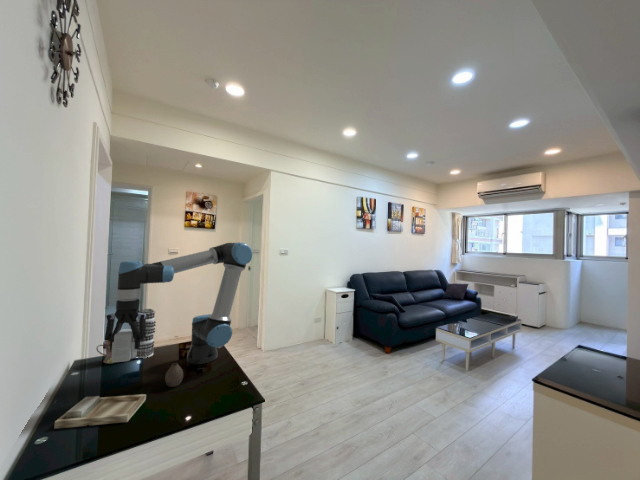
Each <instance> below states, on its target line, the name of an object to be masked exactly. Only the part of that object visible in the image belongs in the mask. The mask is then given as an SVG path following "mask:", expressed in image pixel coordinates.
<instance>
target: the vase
mask: <svg viewBox="0 0 640 480" xmlns="http://www.w3.org/2000/svg"><path fill="white" fill-rule="evenodd" d="M183 379H184V371H183V368H182V367H181V366H180V365H179V364H178V363H177V362H176V363H175V362H174V363H172V364H171V366H170V367H169V368H168V370H167V371H166V373H165V376H164V382H165V384H166V386H168V388H174V387H178V386H180V384H181V383H182V382H183Z"/></svg>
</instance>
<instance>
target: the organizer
mask: <svg viewBox="0 0 640 480" xmlns="http://www.w3.org/2000/svg"><path fill="white" fill-rule="evenodd" d="M146 399H147V394H143V393H141V394H132V395H131V394H128V395H118V396H117V395H116V396H104V397H100V395H95V396H85V397H84V398H83V399H82V400H80V401H79V402H78V403H76V404H75V405H74V406H73V407H71V408H70V409H69V410H68V411H66V412H65V413H64V414H63V415H61V416H60V417H59V418H57V420H55V421H54V429H64V428H65V429H66V428H76V427H77V428H78V427H87V425H89V426H98V425H99V426H100V425H108V424H109V425H111V424H120V423H121V424H122V423H128V422H129V420H131V418H132V417H133V416H134V415H135V414H136V412H137V411H138V410H139V409H140V407H141V406H142V405H143V404H144V403H145V402H146Z"/></svg>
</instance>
